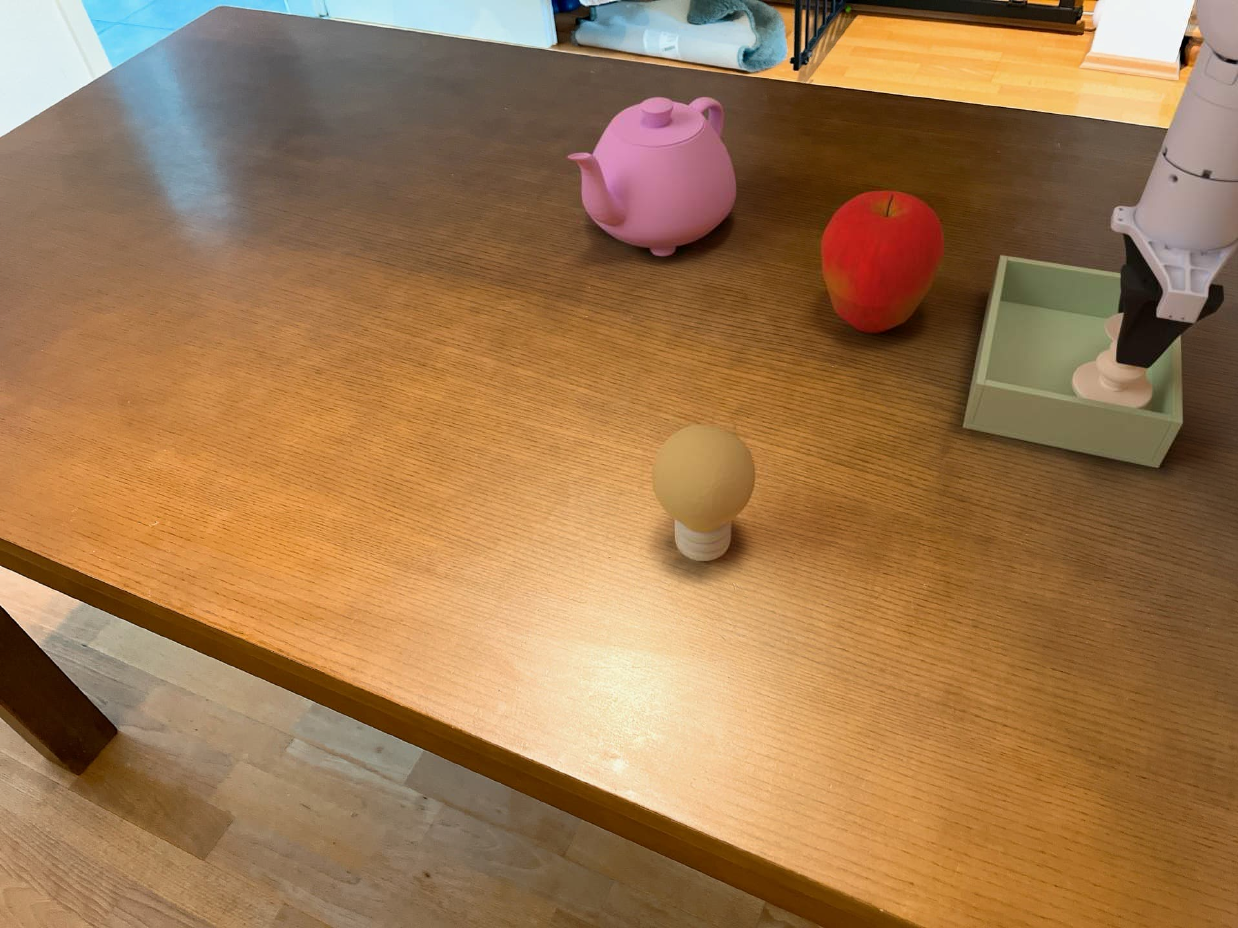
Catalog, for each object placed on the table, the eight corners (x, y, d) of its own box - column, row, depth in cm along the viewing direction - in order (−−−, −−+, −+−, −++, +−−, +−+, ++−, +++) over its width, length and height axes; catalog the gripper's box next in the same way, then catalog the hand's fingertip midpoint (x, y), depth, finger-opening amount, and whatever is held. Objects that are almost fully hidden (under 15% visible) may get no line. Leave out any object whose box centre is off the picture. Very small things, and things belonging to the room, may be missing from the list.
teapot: (636, 307, 80) (629, 181, 71) (528, 248, 88) (509, 127, 79) (778, 208, 89) (786, 86, 81) (669, 162, 97) (666, 46, 88)
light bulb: (683, 495, 65) (681, 392, 58) (765, 528, 63) (775, 425, 56) (638, 559, 62) (630, 458, 54) (724, 597, 59) (728, 496, 52)
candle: (1070, 360, 68) (1118, 239, 60) (1148, 371, 66) (1207, 249, 59) (1070, 408, 64) (1121, 286, 57) (1152, 421, 63) (1215, 298, 55)
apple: (931, 295, 79) (960, 168, 70) (921, 363, 73) (951, 233, 64) (822, 281, 81) (837, 155, 72) (804, 345, 76) (818, 217, 67)
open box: (1158, 328, 74) (1179, 282, 71) (1158, 468, 64) (1183, 423, 61) (987, 299, 78) (1000, 254, 75) (962, 428, 68) (976, 383, 65)
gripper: (1140, 90, 58) (1075, 270, 68) (1137, 213, 49) (1063, 399, 59) (1268, 103, 56) (1181, 286, 66) (1288, 233, 47) (1185, 423, 57)
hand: (1133, 341), depth 62 cm, fingers closed on candle, 4 cm apart
